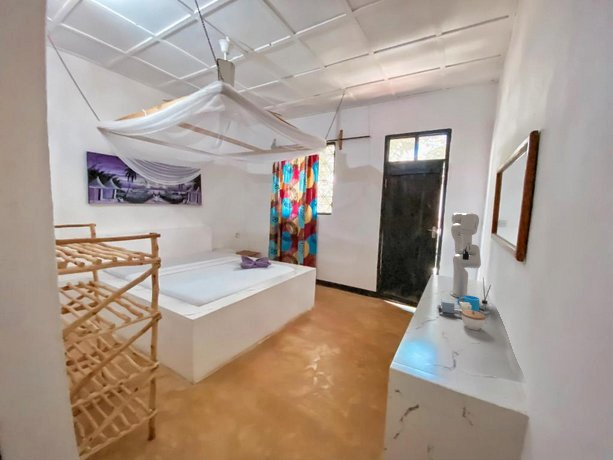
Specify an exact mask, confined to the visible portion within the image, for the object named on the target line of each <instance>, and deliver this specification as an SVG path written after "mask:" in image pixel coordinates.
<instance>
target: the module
mask: <svg viewBox="0 0 613 460" xmlns="http://www.w3.org/2000/svg"><path fill="white" fill-rule="evenodd" d="M440 300H441V302H440V304H441V305H440V306H441V307H442V312H448V313H454V308H455V306H456V305H455V302H454V300H452V299H451V300H450V299H445V298H441V299H440Z"/></svg>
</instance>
